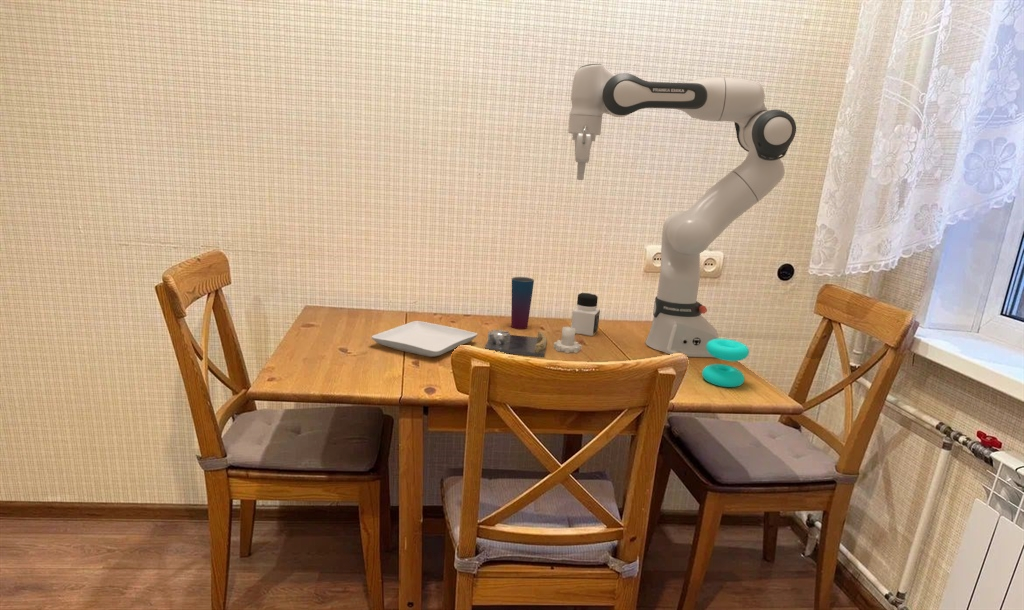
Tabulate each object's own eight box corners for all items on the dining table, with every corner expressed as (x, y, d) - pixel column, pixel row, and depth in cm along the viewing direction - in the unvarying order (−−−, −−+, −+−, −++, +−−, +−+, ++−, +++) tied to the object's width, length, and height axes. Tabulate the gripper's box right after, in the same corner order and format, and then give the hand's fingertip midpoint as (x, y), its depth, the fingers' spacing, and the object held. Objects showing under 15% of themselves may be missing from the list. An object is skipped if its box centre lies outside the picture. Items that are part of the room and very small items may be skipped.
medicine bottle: (593, 336, 181) (597, 297, 178) (570, 332, 183) (573, 294, 180) (597, 330, 188) (601, 293, 185) (575, 327, 190) (579, 290, 187)
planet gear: (580, 346, 171) (582, 326, 169) (580, 354, 164) (582, 333, 162) (554, 343, 171) (555, 323, 170) (553, 351, 164) (555, 330, 163)
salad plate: (415, 329, 177) (416, 318, 176) (478, 343, 168) (479, 332, 167) (368, 348, 158) (368, 335, 157) (436, 364, 149) (437, 351, 148)
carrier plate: (546, 341, 173) (547, 330, 172) (543, 357, 159) (545, 344, 158) (491, 336, 174) (492, 324, 173) (484, 351, 161) (484, 338, 160)
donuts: (739, 338, 153) (757, 350, 144) (733, 375, 156) (750, 389, 146) (701, 336, 153) (716, 348, 143) (695, 373, 155) (710, 388, 146)
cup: (531, 324, 189) (534, 277, 185) (529, 330, 183) (533, 282, 179) (509, 322, 190) (512, 276, 186) (507, 328, 183) (510, 280, 179)
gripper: (597, 126, 154) (592, 181, 157) (595, 130, 173) (590, 178, 177) (572, 124, 154) (568, 179, 157) (573, 128, 174) (569, 177, 177)
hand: (580, 179), depth 167 cm, fingers open, 8 cm apart
